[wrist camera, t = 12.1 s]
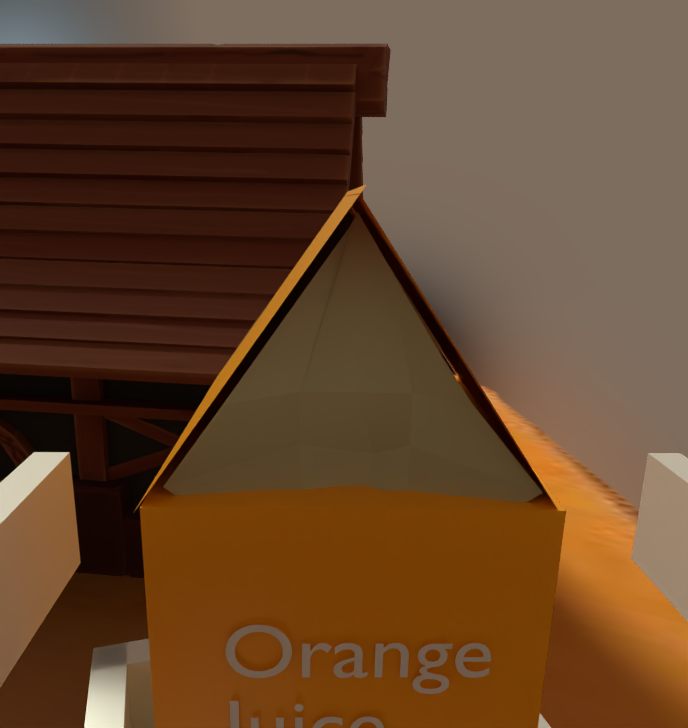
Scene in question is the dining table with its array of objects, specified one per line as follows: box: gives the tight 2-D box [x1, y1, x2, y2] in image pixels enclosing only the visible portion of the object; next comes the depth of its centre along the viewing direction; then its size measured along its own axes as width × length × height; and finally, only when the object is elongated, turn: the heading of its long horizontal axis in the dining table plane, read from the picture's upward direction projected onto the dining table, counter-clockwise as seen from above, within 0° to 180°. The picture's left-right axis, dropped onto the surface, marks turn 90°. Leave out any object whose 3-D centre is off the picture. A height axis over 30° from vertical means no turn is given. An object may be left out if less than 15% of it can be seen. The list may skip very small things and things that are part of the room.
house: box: [0, 44, 390, 578], centre depth 40 cm, size 35×28×29 cm
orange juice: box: [134, 185, 566, 728], centre depth 16 cm, size 8×9×20 cm
